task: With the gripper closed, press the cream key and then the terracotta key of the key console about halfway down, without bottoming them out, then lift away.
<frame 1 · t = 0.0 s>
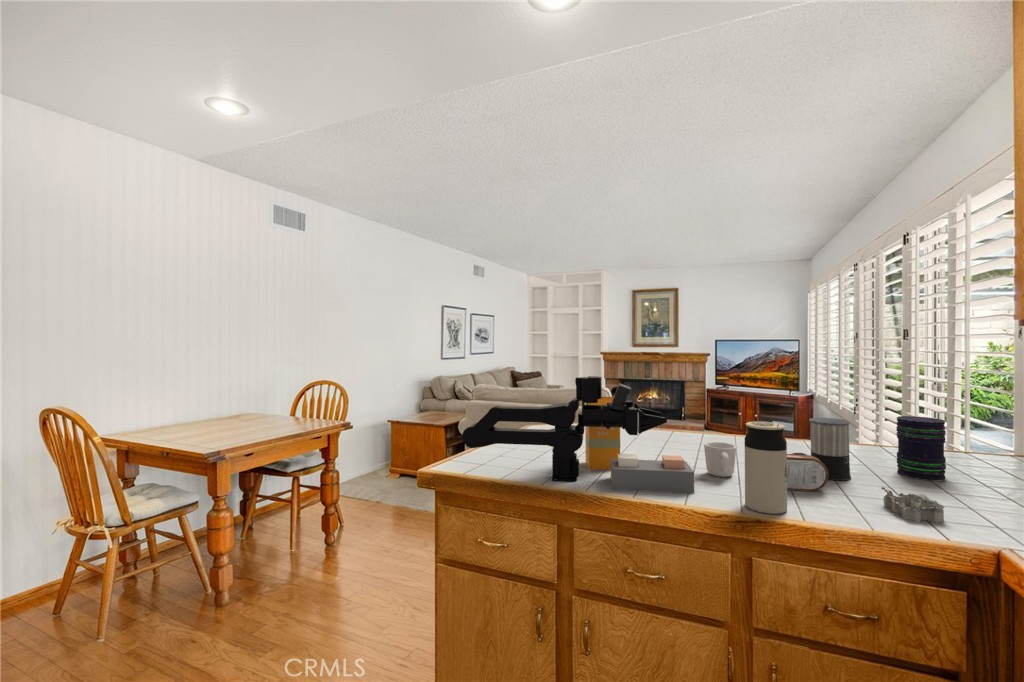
hand: (664, 417, 120), 17 cm above the table, tool horizontal, fingers open, 9 cm apart
travel mug: (765, 509, 101), on the table
terracotta key: (673, 465, 117), point 5 cm above the table, slide at 0.0 cm
egg carton: (913, 515, 98), on the table
key console: (650, 485, 117), on the table
cream key: (627, 464, 118), point 5 cm above the table, slide at 0.0 cm
tin: (792, 490, 114), on the table
orange juice: (602, 466, 136), on the table
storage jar: (920, 476, 125), on the table
milk frother: (814, 473, 128), on the table
cup: (721, 477, 125), on the table
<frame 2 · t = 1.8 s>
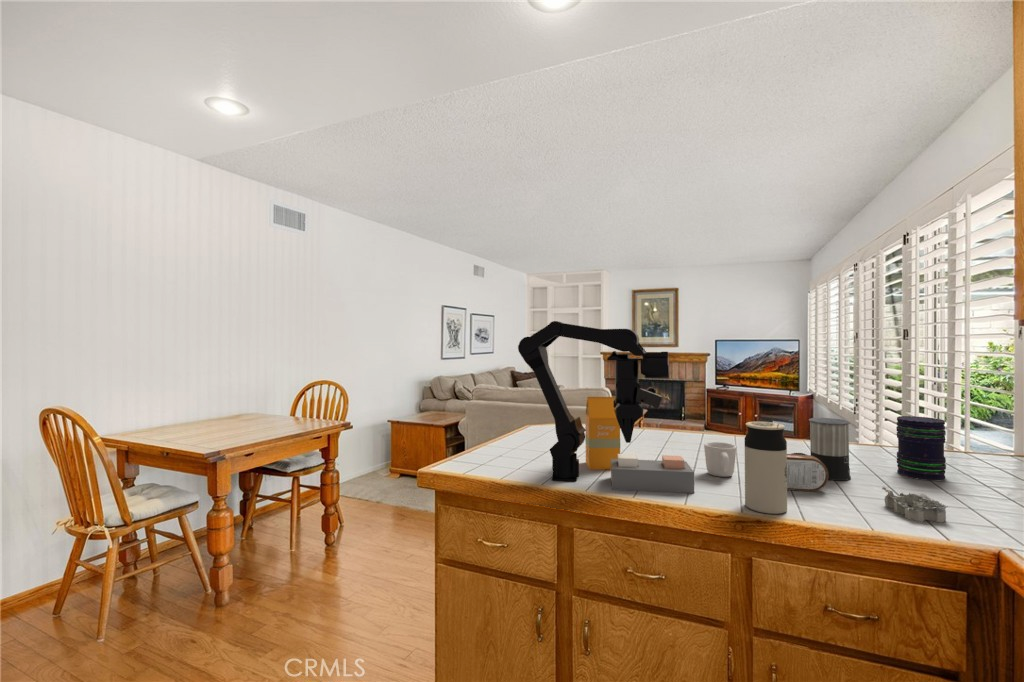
hand: (627, 440, 118), 11 cm above the table, tool pointing down, fingers open, 5 cm apart
nothing on the table moved.
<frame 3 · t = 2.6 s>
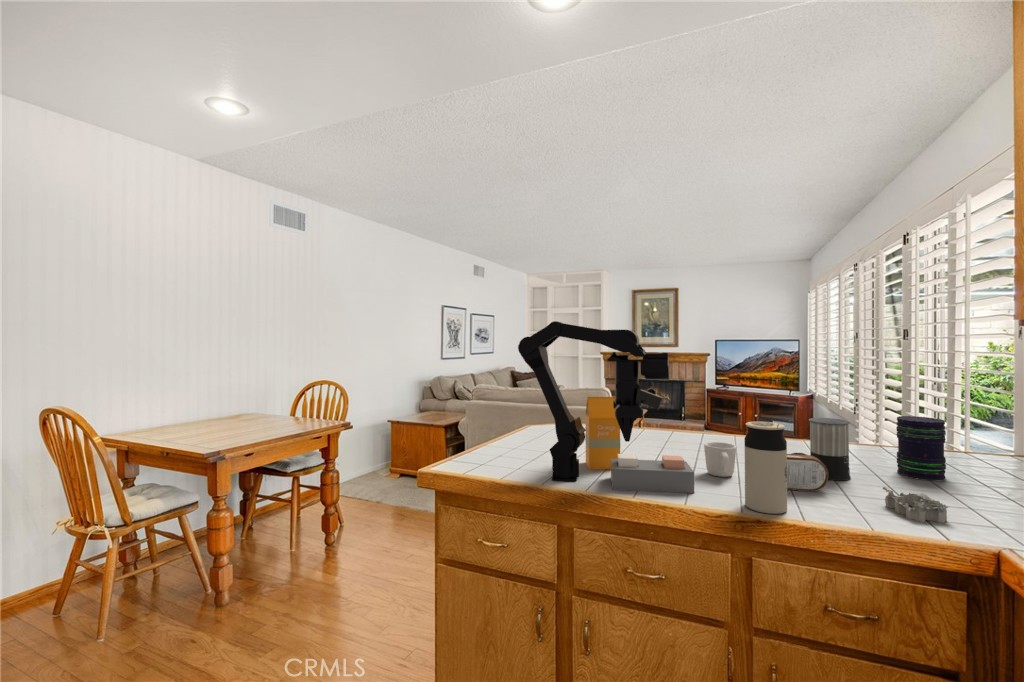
hand: (627, 441, 119), 11 cm above the table, tool pointing down, fingers closed
nothing on the table moved.
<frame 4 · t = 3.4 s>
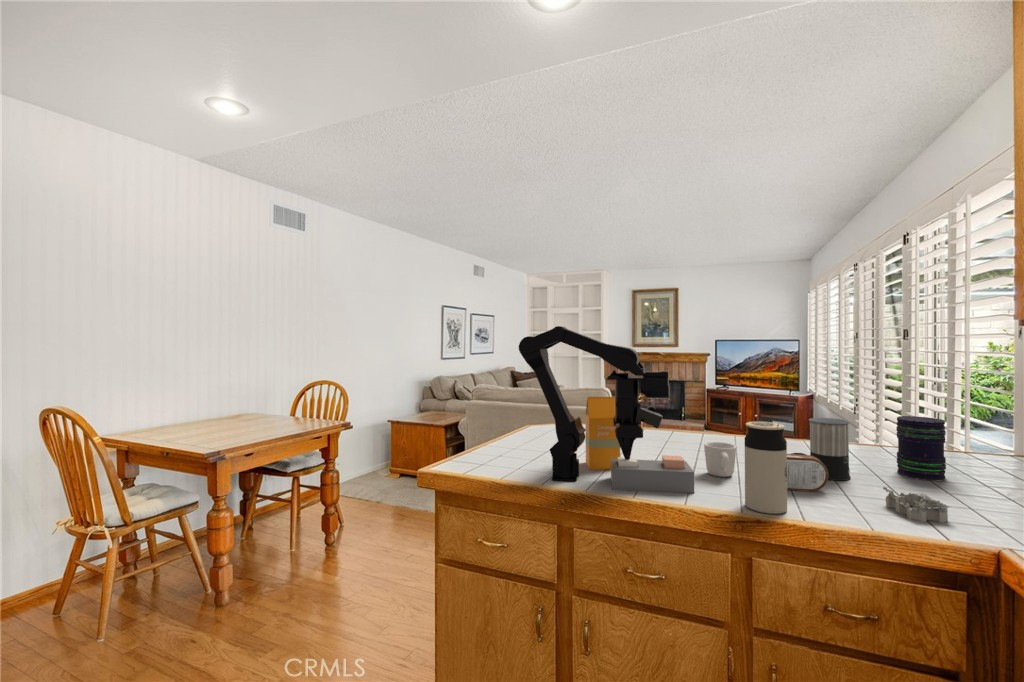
hand: (627, 459, 119), 6 cm above the table, tool pointing down, fingers closed, pressing on cream key
cream key: (627, 467, 118), point 4 cm above the table, slide at 0.8 cm, touching gripper
everything else where it was.
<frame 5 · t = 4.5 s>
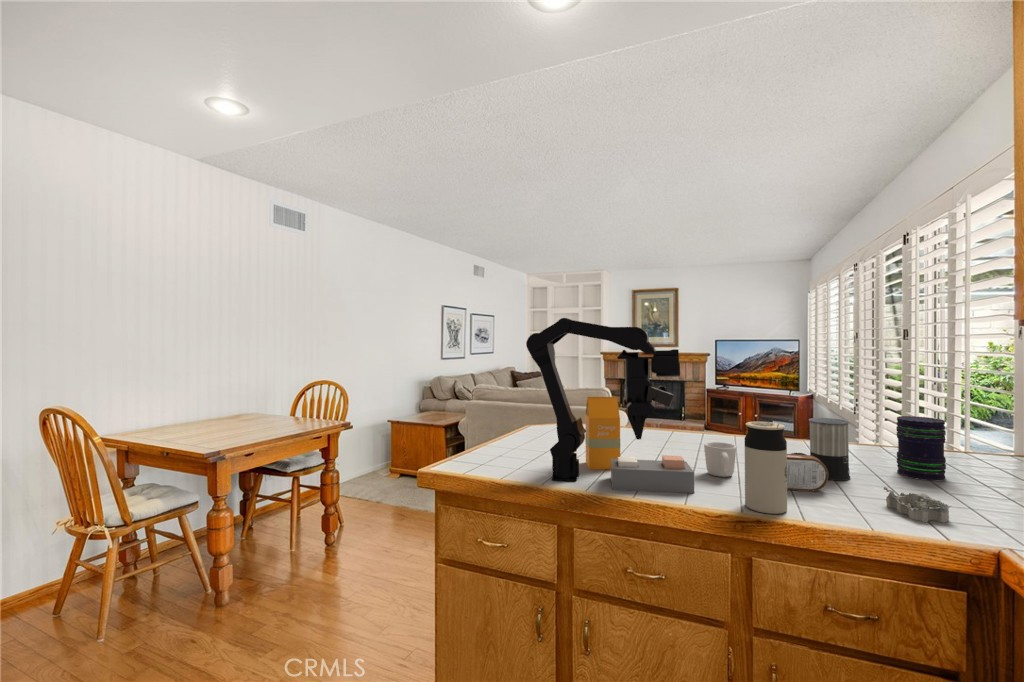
hand: (638, 439, 118), 11 cm above the table, tool pointing down, fingers closed
cream key: (627, 467, 118), point 4 cm above the table, slide at 0.8 cm
everything else where it was.
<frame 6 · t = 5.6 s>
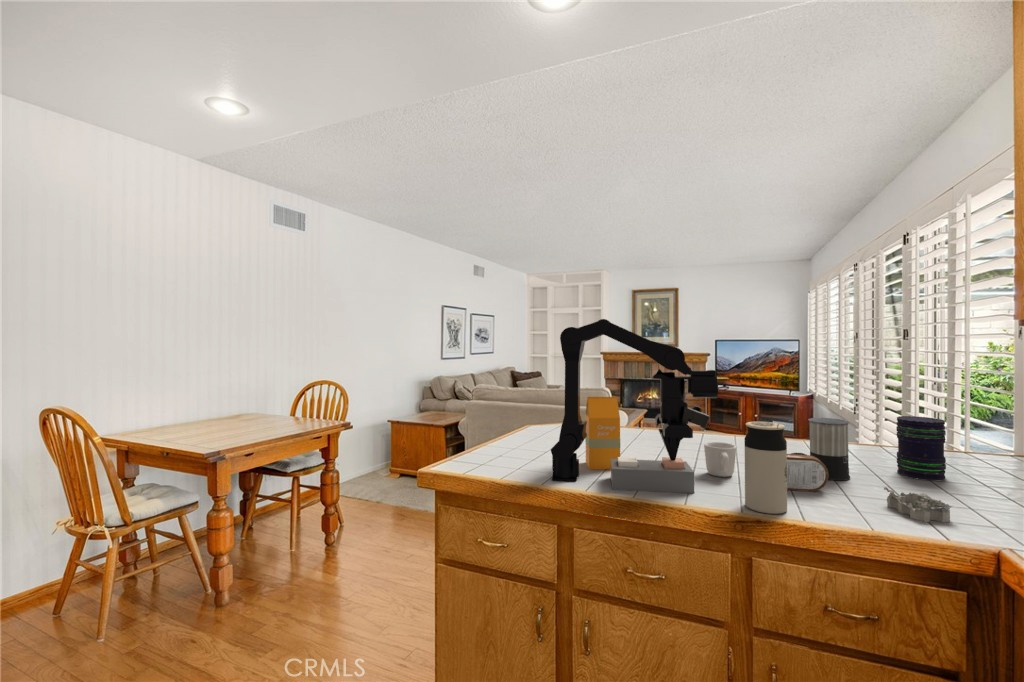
hand: (672, 459, 117), 6 cm above the table, tool pointing down, fingers closed, pressing on terracotta key
terracotta key: (673, 467, 117), point 5 cm above the table, slide at 0.5 cm, touching gripper
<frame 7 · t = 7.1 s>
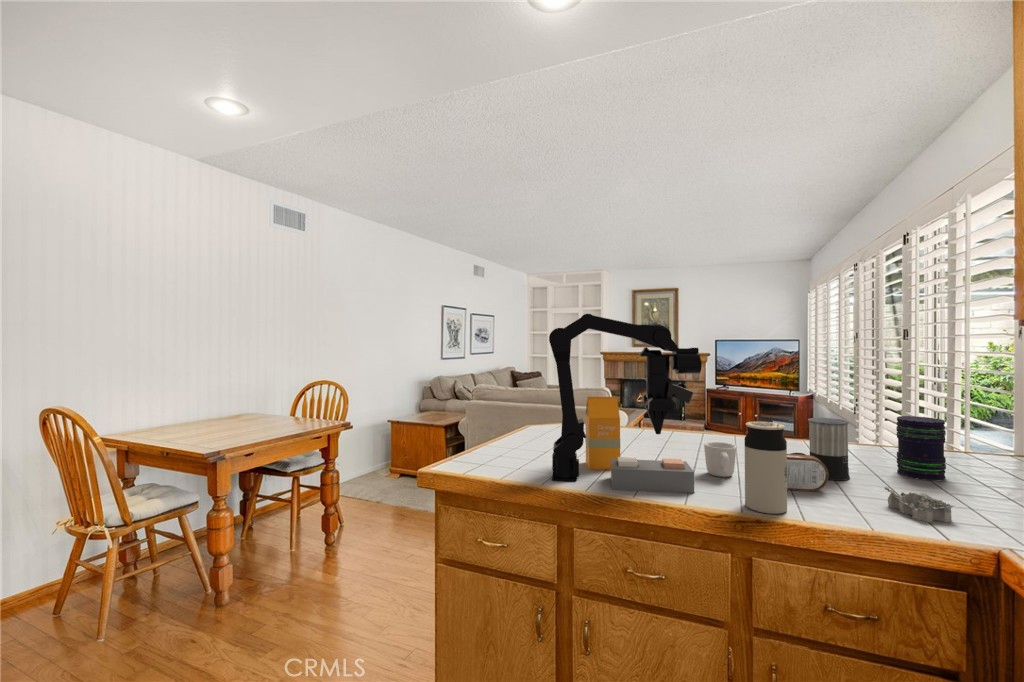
hand: (658, 434, 122), 12 cm above the table, tool pointing down, fingers closed
terracotta key: (673, 469, 117), point 4 cm above the table, slide at 0.8 cm
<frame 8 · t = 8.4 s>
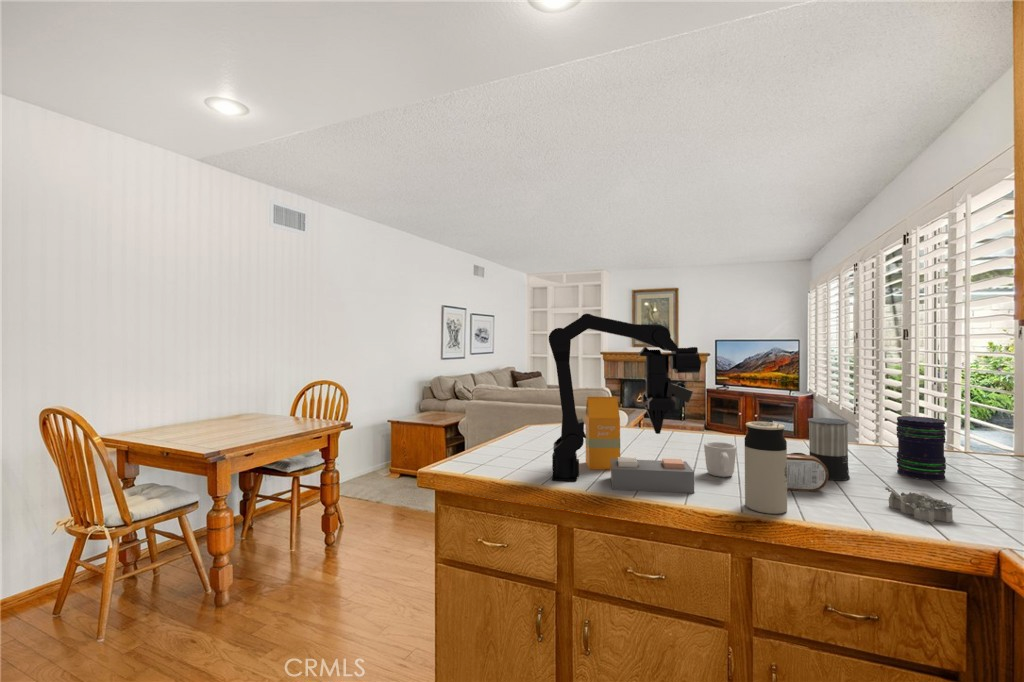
hand: (657, 433, 122), 12 cm above the table, tool pointing down, fingers closed
at the end: cream key slide at 0.8 cm; terracotta key slide at 0.8 cm; cup moved 0.2 cm from its start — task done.
